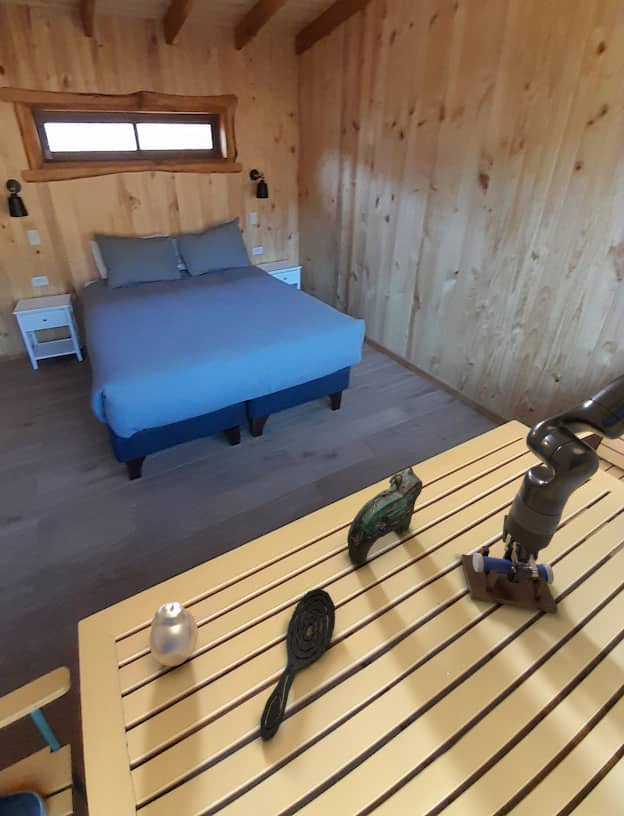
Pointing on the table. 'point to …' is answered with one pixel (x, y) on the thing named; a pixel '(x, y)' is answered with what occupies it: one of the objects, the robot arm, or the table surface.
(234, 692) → the table surface
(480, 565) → the handle
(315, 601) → the hairbrush
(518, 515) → the robot arm
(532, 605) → the holder
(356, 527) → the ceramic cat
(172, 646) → the silver rounded egg shape
